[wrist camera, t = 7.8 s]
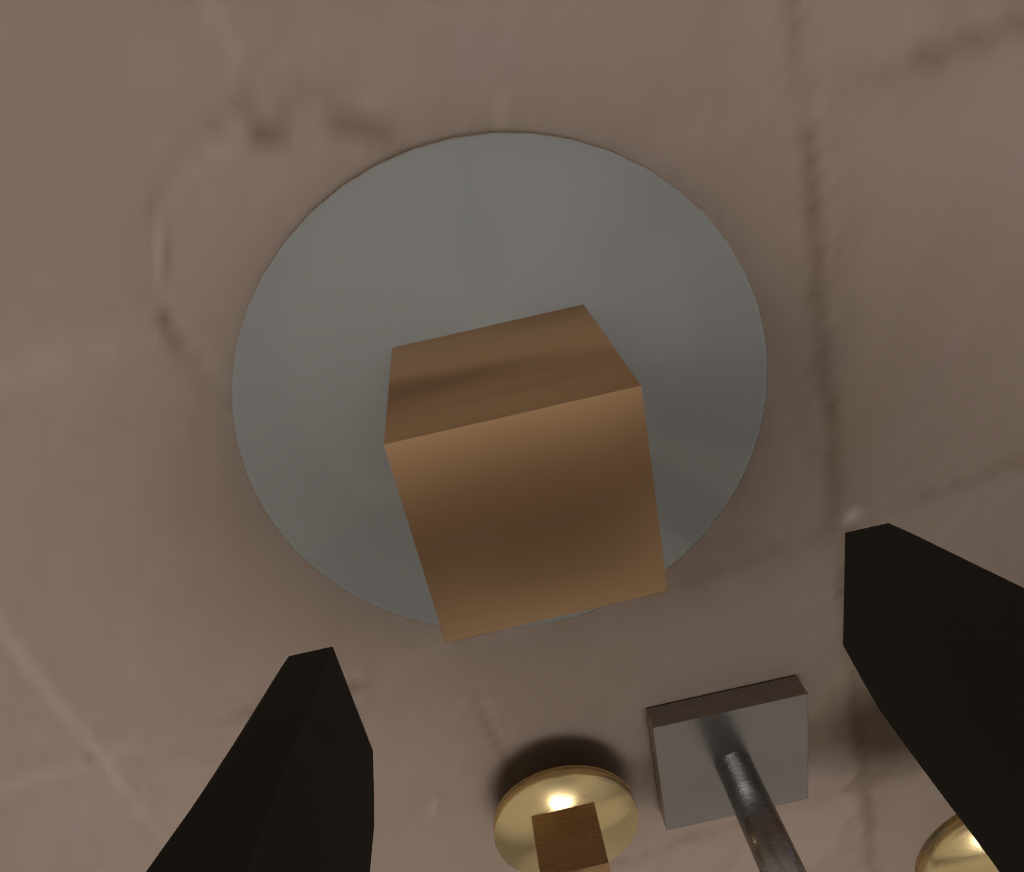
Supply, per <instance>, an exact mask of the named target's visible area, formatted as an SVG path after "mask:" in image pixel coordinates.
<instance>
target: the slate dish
mask: <svg viewBox="0 0 1024 872" xmlns="http://www.w3.org/2000/svg"><path fill="white" fill-rule="evenodd" d="M583 304H584V306H585V307H586V309H587V310H588V311H589V313H590V314H591V316H592V317H593V318H594V320H595V321H596V323H597V324H598V326H599V327H600V328H601V330H602V331H603V333H604V334H605V335H606V337H607V338H608V340H609V341H610V342H611V344H612V345H613V347H614V348H615V349H616V351H617V352H618V354H619V355H620V356H621V358H622V359H623V361H624V362H625V363H626V365H627V366H628V368H629V369H630V370H631V372H632V373H633V375H634V376H635V378H636V379H637V380H638V382H639V383H640V385H641V387H642V395H643V403H644V411H645V418H646V426H647V434H648V442H649V449H650V457H651V465H652V473H653V480H654V488H655V496H656V504H657V511H658V519H659V527H660V535H661V542H662V550H663V558H664V566H665V570H666V569H667V568H668V567H669V566H671V565H672V564H673V563H674V562H675V561H677V560H678V559H679V558H680V557H682V556H683V555H684V554H685V553H686V552H687V551H688V550H689V549H690V548H691V547H692V546H693V545H694V544H695V543H696V542H697V541H698V540H699V539H700V538H701V537H702V536H703V535H704V534H705V532H706V531H707V530H708V528H709V527H710V526H711V525H712V523H713V522H714V521H715V520H716V518H717V517H718V516H719V515H720V513H721V512H722V511H723V509H724V508H725V506H726V504H727V503H728V501H729V499H730V498H731V496H732V495H733V493H734V491H735V490H736V488H737V486H738V485H739V483H740V481H741V479H742V476H743V474H744V472H745V470H746V468H747V465H748V463H749V461H750V459H751V457H752V454H753V451H754V447H755V444H756V441H757V438H758V435H759V432H760V428H761V424H762V418H763V413H764V407H765V402H766V395H767V371H768V362H767V352H766V342H765V332H764V328H763V324H762V320H761V316H760V312H759V308H758V304H757V300H756V298H755V295H754V293H753V291H752V288H751V286H750V283H749V281H748V278H747V276H746V273H745V271H744V269H743V267H742V266H741V264H740V262H739V261H738V259H737V257H736V255H735V254H734V252H733V250H732V249H731V247H730V245H729V244H728V242H727V240H726V239H725V238H724V237H723V236H722V234H721V233H720V232H719V231H718V229H717V228H716V227H715V226H714V225H713V223H712V222H711V221H710V220H709V218H708V217H707V216H706V215H705V214H704V213H703V212H702V211H701V210H700V209H699V208H698V207H697V206H696V205H695V204H693V203H692V202H691V201H690V200H689V199H688V198H687V197H686V196H685V195H684V194H682V193H681V192H680V191H679V190H678V189H677V188H675V187H674V186H672V185H671V184H669V183H668V182H666V181H665V180H663V179H662V178H660V177H659V176H657V175H656V174H654V173H653V172H651V171H650V170H648V169H647V168H645V167H642V166H640V165H638V164H636V163H634V162H632V161H630V160H628V159H626V158H623V157H621V156H619V155H617V154H615V153H613V152H611V151H608V150H606V149H603V148H600V147H597V146H593V145H590V144H587V143H584V142H580V141H577V140H574V139H571V138H567V137H560V136H554V135H547V134H541V133H534V132H504V131H489V132H482V133H474V134H467V135H459V136H452V137H448V138H444V139H441V140H437V141H433V142H430V143H426V144H423V145H419V146H416V147H412V148H410V149H408V150H406V151H403V152H401V153H399V154H396V155H394V156H392V157H390V158H387V159H385V160H383V161H381V162H378V163H376V164H375V165H373V166H371V167H370V168H368V169H367V170H365V171H363V172H362V173H360V174H359V175H357V176H355V177H354V178H352V179H350V180H349V181H347V182H346V183H344V184H343V185H342V186H340V187H339V188H338V189H337V190H336V191H334V192H333V193H332V194H331V195H330V196H329V197H327V198H326V199H325V200H324V201H323V202H321V203H320V204H319V205H318V206H317V207H315V208H314V209H313V211H312V212H311V213H310V214H309V215H308V216H307V217H306V218H305V219H304V221H303V222H302V223H301V224H300V225H299V226H298V227H297V228H296V230H295V231H294V232H293V233H292V234H291V235H290V236H289V238H288V239H287V240H286V241H285V243H284V244H283V246H282V247H281V249H280V250H279V252H278V253H277V255H276V256H275V258H274V259H273V261H272V262H271V264H270V265H269V267H268V268H267V270H266V271H265V273H264V274H263V276H262V278H261V280H260V282H259V285H258V287H257V289H256V291H255V293H254V295H253V297H252V300H251V302H250V304H249V306H248V308H247V311H246V314H245V318H244V321H243V325H242V328H241V331H240V335H239V338H238V341H237V346H236V354H235V361H234V368H233V375H232V412H233V419H234V425H235V431H236V438H237V444H238V447H239V451H240V454H241V457H242V460H243V463H244V467H245V470H246V473H247V476H248V478H249V480H250V482H251V484H252V487H253V489H254V491H255V493H256V495H257V497H258V499H259V501H260V503H261V505H262V507H263V508H264V510H265V511H266V513H267V514H268V516H269V517H270V519H271V520H272V522H273V523H274V525H275V526H276V528H277V529H278V531H279V532H280V533H281V534H282V535H283V537H284V538H285V539H286V540H287V541H288V542H289V543H290V545H291V546H292V547H293V548H294V549H295V550H296V552H297V553H298V554H299V555H300V556H301V557H303V558H304V559H305V560H306V561H307V562H308V563H309V564H310V565H312V566H313V567H314V568H315V569H316V570H317V571H318V572H319V573H321V574H322V575H323V576H325V577H326V578H328V579H329V580H331V581H332V582H333V583H335V584H336V585H338V586H339V587H341V588H342V589H344V590H345V591H346V592H348V593H350V594H352V595H354V596H356V597H358V598H360V599H362V600H364V601H365V602H367V603H369V604H371V605H373V606H376V607H378V608H381V609H383V610H386V611H388V612H391V613H394V614H396V615H399V616H401V617H405V618H409V619H413V620H417V621H420V622H424V623H428V624H432V625H439V626H440V623H439V620H438V617H437V614H436V610H435V607H434V604H433V601H432V598H431V594H430V591H429V588H428V585H427V582H426V578H425V575H424V572H423V569H422V565H421V562H420V559H419V556H418V553H417V549H416V546H415V543H414V540H413V537H412V533H411V530H410V527H409V524H408V521H407V517H406V514H405V511H404V508H403V504H402V501H401V498H400V495H399V492H398V488H397V485H396V482H395V479H394V476H393V472H392V469H391V466H390V463H389V460H388V456H387V453H386V450H385V447H384V437H385V426H386V415H387V403H388V392H389V380H390V369H391V358H392V348H393V347H398V346H402V345H406V344H411V343H415V342H420V341H424V340H428V339H433V338H437V337H442V336H446V335H450V334H455V333H459V332H464V331H468V330H472V329H477V328H481V327H486V326H490V325H495V324H499V323H503V322H508V321H512V320H517V319H521V318H525V317H530V316H534V315H539V314H543V313H547V312H552V311H556V310H561V309H565V308H569V307H574V306H578V305H583ZM597 608H600V607H597ZM597 608H593V609H589V610H585V611H580V612H576V613H572V614H567V615H563V616H559V617H555V618H550V619H546V620H542V621H537V622H533V623H529V624H525V625H520V626H516V627H512V628H507V629H516V628H525V627H531V626H537V625H543V624H549V623H553V622H557V621H561V620H564V619H568V618H572V617H575V616H579V615H582V614H584V613H587V612H589V611H592V610H595V609H597Z"/></svg>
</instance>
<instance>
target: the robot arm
mask: <svg viewBox="0 0 1024 872" xmlns="http://www.w3.org/2000/svg"><path fill="white" fill-rule="evenodd" d="M843 646H844V647H845V649H846V651H847V653H848V655H849V656H850V658H851V660H852V662H853V664H854V666H855V667H856V669H857V671H858V673H859V675H860V677H861V678H862V680H863V682H864V684H865V685H866V687H867V689H868V690H869V692H870V694H871V696H872V697H873V699H874V701H875V702H876V704H877V706H878V708H879V709H880V711H881V712H882V714H883V715H884V716H885V718H886V719H887V721H888V722H889V723H890V725H891V726H892V728H893V729H894V730H895V732H896V733H897V734H898V736H899V737H900V739H901V740H902V741H903V743H904V744H905V745H906V747H907V748H908V749H909V751H910V752H911V754H912V755H913V756H914V758H915V759H916V760H917V762H918V763H919V764H920V766H921V767H922V768H923V770H924V771H925V772H926V774H927V775H928V776H929V778H930V779H931V780H932V782H933V783H934V784H935V786H936V787H937V789H938V790H939V791H940V793H941V794H942V795H943V797H944V798H945V799H946V801H947V802H948V803H949V805H950V806H951V807H952V809H953V810H954V811H955V813H956V814H957V815H958V817H959V818H960V819H961V821H962V822H963V823H964V825H965V826H966V827H967V829H968V830H969V831H970V833H971V834H972V835H973V837H974V838H975V839H976V841H977V842H978V844H979V845H980V846H981V848H982V849H983V850H984V852H985V853H986V854H987V856H988V857H989V858H990V860H991V861H992V862H993V864H994V865H995V867H996V868H997V869H998V871H999V872H1024V588H1023V587H1021V586H1018V585H1016V584H1014V583H1012V582H1010V581H1008V580H1006V579H1004V578H1002V577H1000V576H998V575H996V574H994V573H991V572H989V571H987V570H985V569H983V568H981V567H979V566H977V565H975V564H973V563H971V562H969V561H967V560H965V559H963V558H961V557H959V556H957V555H955V554H953V553H951V552H949V551H947V550H945V549H943V548H940V547H938V546H936V545H934V544H932V543H930V542H928V541H926V540H924V539H922V538H920V537H918V536H916V535H914V534H911V533H909V532H907V531H905V530H903V529H900V528H898V527H896V526H894V525H891V524H889V523H887V524H883V525H878V526H874V527H869V528H865V529H860V530H856V531H851V532H847V533H845V575H844V627H843ZM373 831H374V779H373V750H372V747H371V745H370V742H369V740H368V737H367V734H366V732H365V729H364V727H363V724H362V722H361V719H360V716H359V714H358V711H357V709H356V706H355V703H354V701H353V698H352V696H351V693H350V690H349V688H348V685H347V683H346V680H345V677H344V675H343V672H342V670H341V667H340V665H339V662H338V659H337V657H336V654H335V652H334V649H333V647H329V648H324V649H320V650H315V651H311V652H306V653H302V654H297V655H293V656H289V657H288V658H287V660H286V661H285V663H284V664H283V666H282V667H281V669H280V670H279V672H278V674H277V675H276V677H275V678H274V680H273V681H272V683H271V685H270V686H269V688H268V690H267V691H266V693H265V694H264V696H263V698H262V699H261V701H260V703H259V704H258V706H257V707H256V709H255V711H254V712H253V714H252V716H251V717H250V719H249V720H248V722H247V724H246V725H245V727H244V728H243V730H242V732H241V733H240V735H239V736H238V738H237V740H236V741H235V743H234V744H233V746H232V747H231V749H230V750H229V752H228V754H227V755H226V757H225V758H224V760H223V761H222V763H221V764H220V766H219V767H218V769H217V770H216V772H215V773H214V775H213V777H212V778H211V780H210V781H209V783H208V784H207V786H206V787H205V789H204V790H203V792H202V793H201V795H200V796H199V798H198V799H197V801H196V802H195V804H194V805H193V807H192V808H191V810H190V811H189V812H188V814H187V815H186V817H185V818H184V819H183V821H182V822H181V824H180V825H179V826H178V828H177V829H176V831H175V832H174V833H173V835H172V836H171V838H170V839H169V840H168V842H167V843H166V845H165V846H164V847H163V849H162V850H161V852H160V853H159V855H158V856H157V857H156V859H155V860H154V862H153V863H152V864H151V866H150V867H149V869H148V870H147V871H146V872H370V864H371V853H372V843H373Z"/></svg>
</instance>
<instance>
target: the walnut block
mask: <svg viewBox="0 0 1024 872" xmlns="http://www.w3.org/2000/svg"><path fill="white" fill-rule="evenodd" d="M384 447H385V450H386V453H387V456H388V460H389V463H390V466H391V469H392V472H393V476H394V479H395V482H396V485H397V488H398V492H399V495H400V498H401V501H402V504H403V508H404V511H405V514H406V517H407V521H408V524H409V527H410V530H411V533H412V537H413V540H414V543H415V546H416V549H417V553H418V556H419V559H420V562H421V565H422V569H423V572H424V575H425V578H426V582H427V585H428V588H429V591H430V594H431V598H432V601H433V604H434V607H435V610H436V614H437V617H438V620H439V623H440V626H441V630H442V633H443V636H444V639H445V642H446V643H447V642H452V641H456V640H460V639H465V638H469V637H473V636H477V635H482V634H486V633H490V632H495V631H499V630H503V629H507V628H512V627H516V626H520V625H525V624H529V623H533V622H537V621H542V620H546V619H550V618H555V617H559V616H563V615H567V614H572V613H576V612H580V611H585V610H589V609H593V608H597V607H602V606H606V605H610V604H615V603H619V602H623V601H627V600H632V599H636V598H640V597H645V596H649V595H653V594H657V593H662V592H666V591H668V589H667V581H666V573H665V566H664V558H663V550H662V542H661V535H660V527H659V519H658V511H657V504H656V496H655V488H654V480H653V473H652V465H651V457H650V449H649V442H648V434H647V426H646V418H645V411H644V403H643V395H642V387H641V385H640V383H639V382H638V380H637V379H636V378H635V376H634V375H633V373H632V372H631V370H630V369H629V368H628V366H627V365H626V363H625V362H624V361H623V359H622V358H621V356H620V355H619V354H618V352H617V351H616V349H615V348H614V347H613V345H612V344H611V342H610V341H609V340H608V338H607V337H606V335H605V334H604V333H603V331H602V330H601V328H600V327H599V326H598V324H597V323H596V321H595V320H594V318H593V317H592V316H591V314H590V313H589V311H588V310H587V309H586V307H585V306H584V304H583V305H578V306H574V307H569V308H565V309H561V310H556V311H552V312H547V313H543V314H539V315H534V316H530V317H525V318H521V319H517V320H512V321H508V322H503V323H499V324H495V325H490V326H486V327H481V328H477V329H472V330H468V331H464V332H459V333H455V334H450V335H446V336H442V337H437V338H433V339H428V340H424V341H420V342H415V343H411V344H406V345H402V346H398V347H393V348H392V358H391V369H390V380H389V392H388V403H387V415H386V426H385V437H384Z"/></svg>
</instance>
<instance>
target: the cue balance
mask: <svg viewBox="0 0 1024 872" xmlns="http://www.w3.org/2000/svg"><path fill="white" fill-rule="evenodd" d="M646 711H647V718H648V726H649V733H650V740H651V748H652V755H653V762H654V770H655V777H656V784H657V791H658V799H659V806H660V811H661V814H662V818H663V821H664V824H665V827H666V830H671V829H675V828H680V827H684V826H689V825H693V824H698V823H702V822H706V821H711V820H715V819H720V818H724V817H729V816H733V815H736V817H737V819H738V822H739V824H740V826H741V829H742V831H743V833H744V836H745V838H746V840H747V843H748V845H749V847H750V850H751V852H752V854H753V857H754V859H755V861H756V864H757V866H758V868H759V871H760V872H806V870H805V868H804V866H803V864H802V862H801V860H800V858H799V856H798V854H797V851H796V849H795V847H794V845H793V843H792V841H791V839H790V837H789V835H788V833H787V831H786V829H785V827H784V825H783V823H782V821H781V818H780V816H779V814H778V812H777V810H776V808H775V806H777V805H782V804H786V803H791V802H795V801H799V800H804V799H808V693H807V692H806V690H805V688H804V687H803V685H802V684H801V682H800V680H799V679H798V677H797V676H792V677H787V678H783V679H778V680H774V681H769V682H765V683H760V684H756V685H751V686H747V687H742V688H738V689H733V690H729V691H724V692H720V693H715V694H711V695H706V696H702V697H697V698H693V699H688V700H684V701H679V702H675V703H670V704H666V705H661V706H657V707H652V708H648V709H646ZM493 825H494V835H495V843H496V847H497V849H498V852H499V853H500V855H501V856H502V858H503V859H504V860H505V861H506V862H507V863H509V864H510V865H511V866H512V867H514V868H516V869H518V870H520V871H522V872H610V867H609V861H611V860H612V859H614V858H615V857H617V856H618V855H619V854H620V853H621V852H622V851H623V850H624V849H625V848H626V847H627V846H628V845H629V843H630V842H631V841H632V839H633V837H634V835H635V833H636V830H637V827H638V811H637V808H636V804H635V801H634V797H633V794H632V792H631V790H630V788H629V787H628V785H627V784H626V783H625V782H624V781H623V780H622V779H621V778H620V777H618V776H617V775H615V774H613V773H611V772H609V771H607V770H604V769H602V768H598V767H594V766H587V765H565V766H558V767H553V768H549V769H546V770H543V771H540V772H537V773H535V774H533V775H531V776H528V777H526V778H525V779H523V780H522V781H520V782H518V783H517V784H516V785H515V786H513V787H512V788H511V789H510V790H509V791H508V792H507V793H506V794H505V795H504V797H503V798H502V799H501V801H500V802H499V804H498V806H497V808H496V811H495V814H494V824H493ZM915 872H999V871H998V869H997V868H996V867H995V865H994V864H993V862H992V861H991V860H990V858H989V857H988V856H987V854H986V853H985V852H984V850H983V849H982V848H981V846H980V845H979V844H978V842H977V841H976V839H975V838H974V837H973V835H972V834H971V833H970V831H969V830H968V829H967V827H966V826H965V825H964V823H963V822H962V821H961V819H960V818H959V817H958V815H957V814H956V815H954V816H953V817H951V818H950V819H949V820H947V821H946V822H945V823H943V824H942V825H941V826H940V827H939V828H938V829H937V830H936V831H935V832H934V833H933V834H932V835H931V836H930V837H929V838H928V840H927V841H926V842H925V844H924V845H923V847H922V849H921V850H920V852H919V855H918V857H917V860H916V865H915Z"/></svg>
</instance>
